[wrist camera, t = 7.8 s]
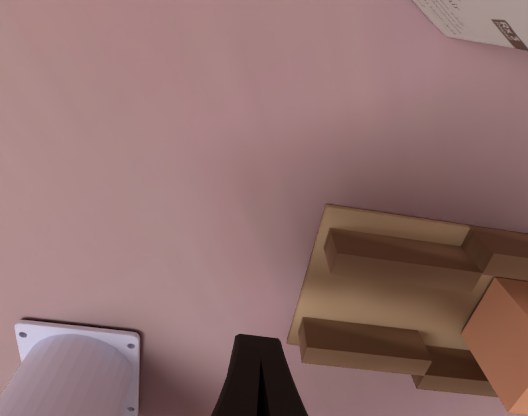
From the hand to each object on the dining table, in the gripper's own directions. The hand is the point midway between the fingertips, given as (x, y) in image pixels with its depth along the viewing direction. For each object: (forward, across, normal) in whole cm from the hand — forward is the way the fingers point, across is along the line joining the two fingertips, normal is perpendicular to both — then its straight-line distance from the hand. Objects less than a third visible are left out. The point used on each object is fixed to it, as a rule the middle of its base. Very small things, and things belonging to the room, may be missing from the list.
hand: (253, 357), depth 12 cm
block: (+10, -18, +5) cm, 21 cm away
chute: (+10, -14, +5) cm, 18 cm away
